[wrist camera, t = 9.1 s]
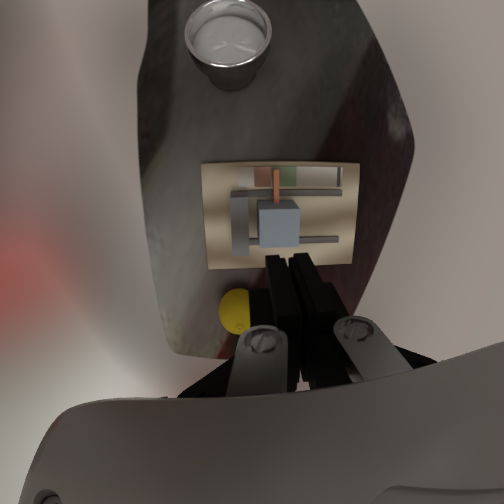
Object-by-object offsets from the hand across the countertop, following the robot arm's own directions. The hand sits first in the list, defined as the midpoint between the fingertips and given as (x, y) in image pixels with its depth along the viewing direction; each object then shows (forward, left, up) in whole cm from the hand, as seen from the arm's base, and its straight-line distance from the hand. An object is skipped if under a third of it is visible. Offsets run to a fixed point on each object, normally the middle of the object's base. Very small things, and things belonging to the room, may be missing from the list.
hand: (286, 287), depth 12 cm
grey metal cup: (-14, -2, -27) cm, 31 cm away
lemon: (+17, -2, -27) cm, 32 cm away
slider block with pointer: (+3, +3, -26) cm, 26 cm away
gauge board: (+5, +4, -27) cm, 28 cm away
